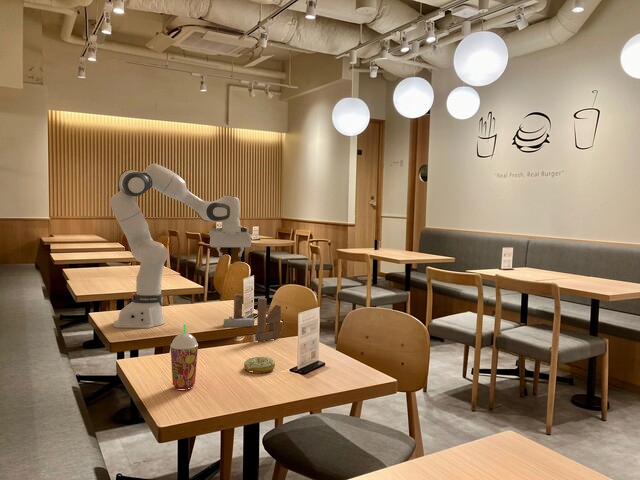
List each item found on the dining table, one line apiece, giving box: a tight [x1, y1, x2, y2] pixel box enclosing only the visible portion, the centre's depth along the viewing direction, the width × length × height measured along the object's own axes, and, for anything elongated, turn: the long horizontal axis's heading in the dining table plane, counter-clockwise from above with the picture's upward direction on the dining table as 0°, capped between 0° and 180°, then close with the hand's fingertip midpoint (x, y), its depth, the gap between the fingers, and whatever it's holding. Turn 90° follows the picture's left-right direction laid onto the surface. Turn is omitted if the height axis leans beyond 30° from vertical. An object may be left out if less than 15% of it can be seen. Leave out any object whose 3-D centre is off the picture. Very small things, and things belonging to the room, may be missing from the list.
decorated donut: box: [243, 356, 276, 373], centre depth 187 cm, size 10×11×4 cm
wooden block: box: [254, 297, 282, 342], centre depth 228 cm, size 4×11×18 cm, turn 133°
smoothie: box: [170, 323, 199, 390], centre depth 166 cm, size 8×8×20 cm
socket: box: [223, 315, 255, 328], centre depth 253 cm, size 14×8×3 cm, turn 106°
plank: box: [233, 293, 244, 319], centre depth 255 cm, size 4×4×14 cm
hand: (230, 256), depth 263 cm, fingers open, 8 cm apart
